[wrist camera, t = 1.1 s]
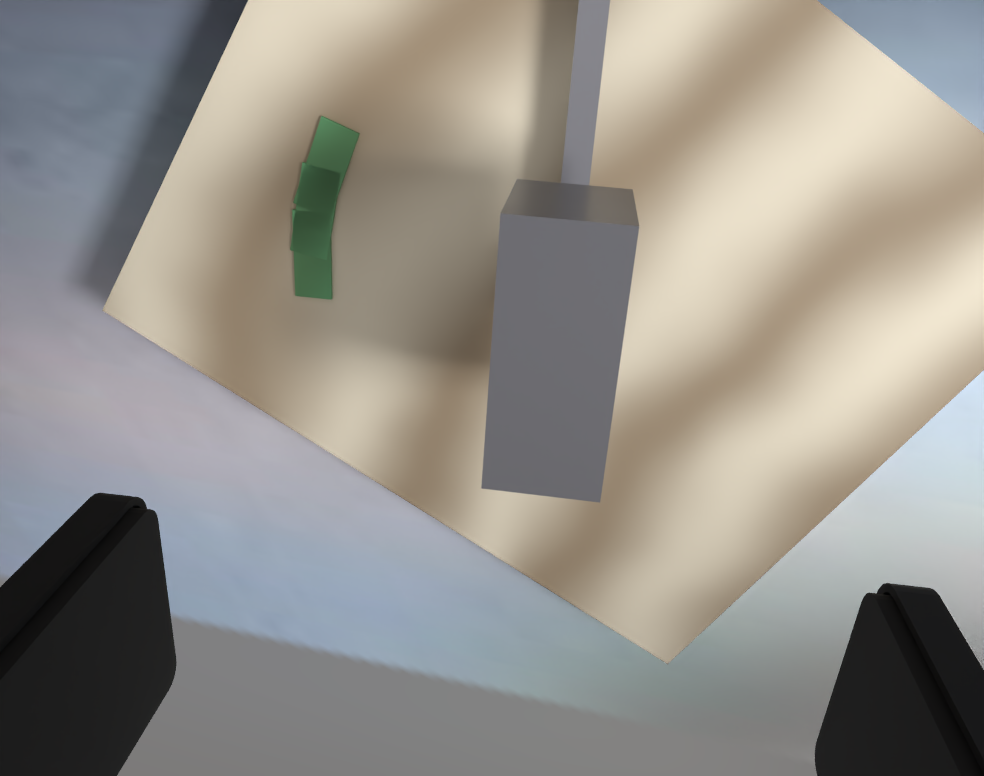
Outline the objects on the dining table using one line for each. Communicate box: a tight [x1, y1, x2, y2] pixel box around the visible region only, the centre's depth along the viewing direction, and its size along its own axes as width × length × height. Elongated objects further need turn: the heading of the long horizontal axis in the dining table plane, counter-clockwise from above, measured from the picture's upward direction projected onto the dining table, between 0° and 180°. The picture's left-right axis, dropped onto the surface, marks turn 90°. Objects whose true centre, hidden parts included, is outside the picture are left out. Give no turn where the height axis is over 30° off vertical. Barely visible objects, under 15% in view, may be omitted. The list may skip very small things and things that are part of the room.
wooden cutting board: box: [102, 0, 984, 664], centre depth 27 cm, size 24×20×2 cm
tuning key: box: [481, 0, 639, 503], centre depth 21 cm, size 12×3×7 cm, turn 176°
